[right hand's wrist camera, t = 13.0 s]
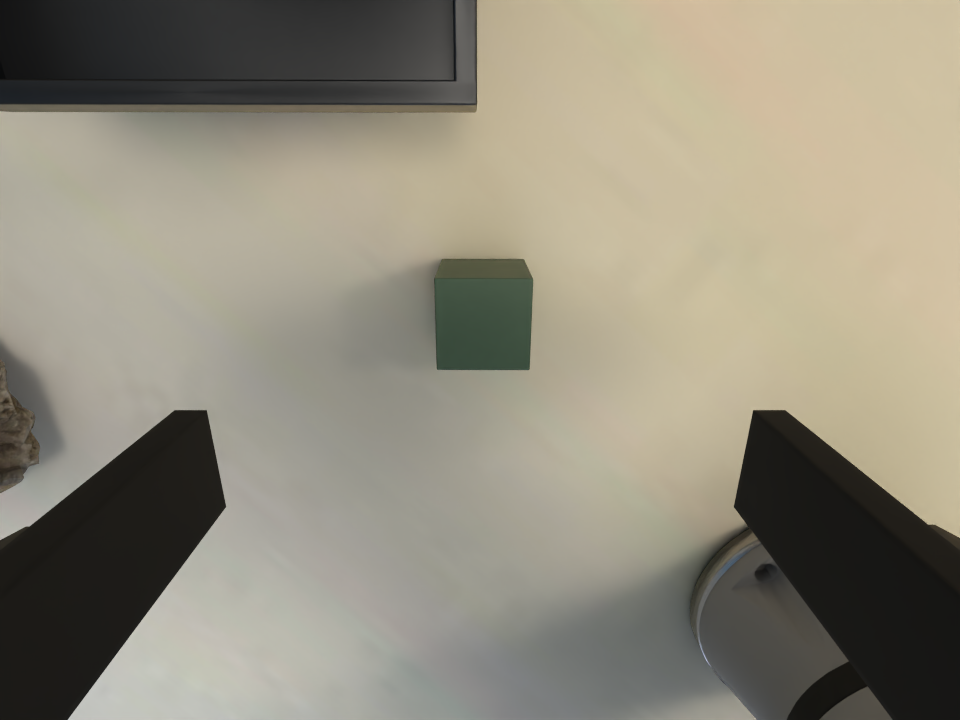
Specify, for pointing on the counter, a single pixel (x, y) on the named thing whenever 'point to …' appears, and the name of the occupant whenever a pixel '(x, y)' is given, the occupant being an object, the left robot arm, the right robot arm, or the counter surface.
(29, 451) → the fossil
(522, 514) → the counter surface
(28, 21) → the pan
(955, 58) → the counter surface
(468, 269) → the green block
